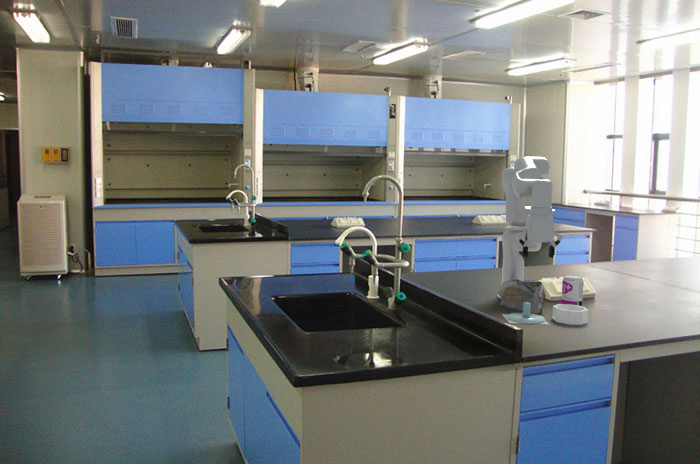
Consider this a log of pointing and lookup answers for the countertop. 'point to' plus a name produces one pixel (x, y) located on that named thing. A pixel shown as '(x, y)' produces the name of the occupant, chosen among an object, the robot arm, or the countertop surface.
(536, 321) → the lid
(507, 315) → the mat
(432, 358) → the countertop surface
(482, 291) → the countertop surface
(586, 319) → the bowl
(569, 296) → the supplement can
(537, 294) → the fossil rock
